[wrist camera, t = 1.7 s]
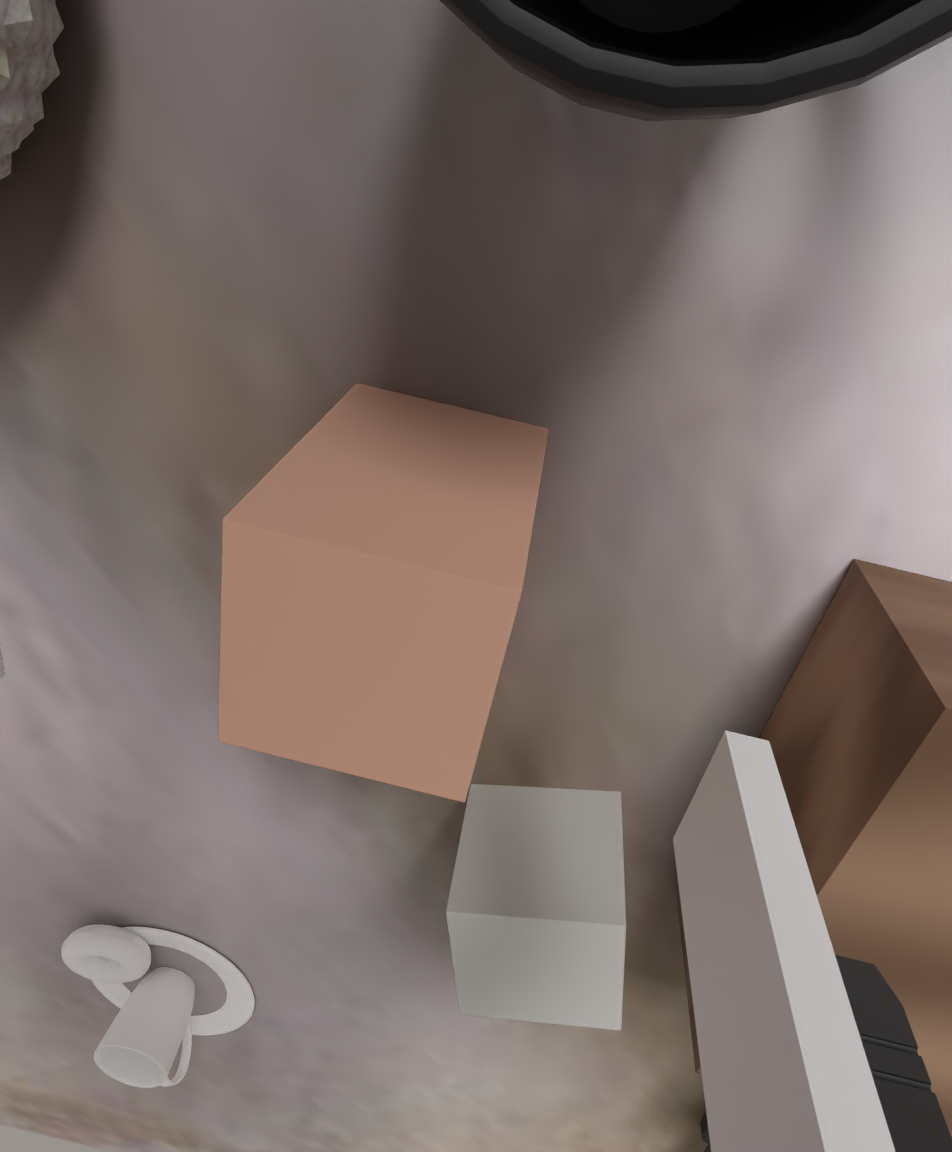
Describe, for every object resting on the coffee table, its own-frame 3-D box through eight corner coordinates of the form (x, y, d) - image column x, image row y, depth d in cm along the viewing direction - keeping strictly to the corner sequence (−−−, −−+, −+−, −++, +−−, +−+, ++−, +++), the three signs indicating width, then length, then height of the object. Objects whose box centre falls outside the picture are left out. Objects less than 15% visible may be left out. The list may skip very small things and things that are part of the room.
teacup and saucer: (58, 900, 33) (-6, 991, 29) (227, 909, 32) (181, 1005, 28) (125, 1018, 37) (76, 1109, 34) (277, 1030, 36) (242, 1126, 32)
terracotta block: (356, 382, 19) (222, 518, 12) (548, 428, 19) (521, 591, 12) (337, 550, 22) (218, 741, 15) (506, 592, 22) (464, 802, 15)
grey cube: (471, 782, 26) (445, 911, 21) (620, 790, 25) (626, 925, 21) (480, 880, 28) (459, 1014, 24) (617, 890, 27) (621, 1030, 23)
